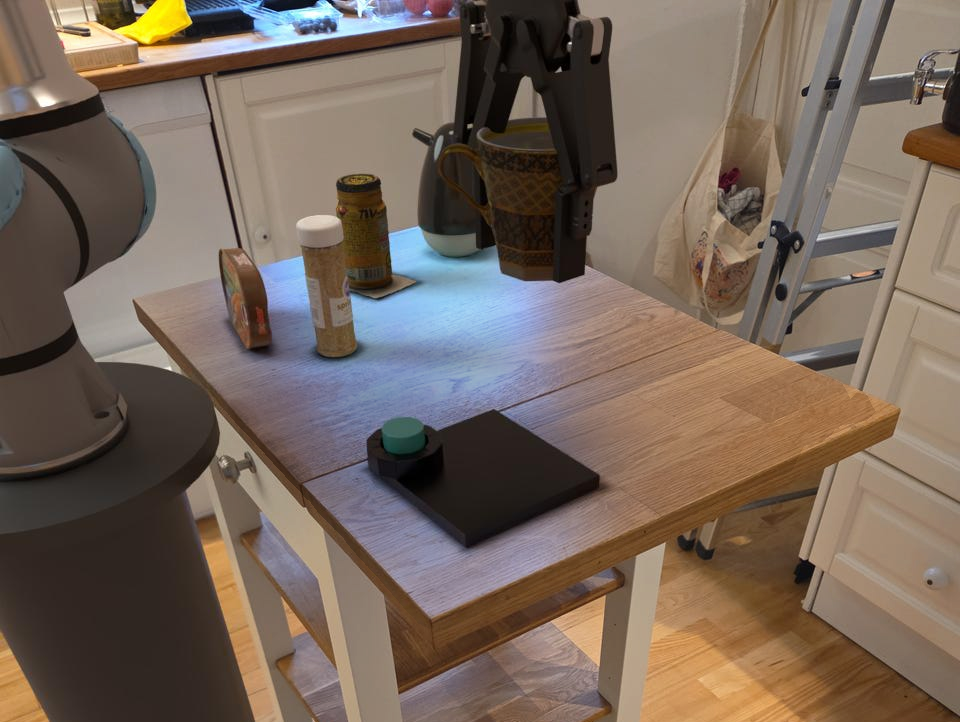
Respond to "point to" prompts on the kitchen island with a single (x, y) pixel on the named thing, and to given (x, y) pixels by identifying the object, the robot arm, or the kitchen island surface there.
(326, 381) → the kitchen island surface
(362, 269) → the condiment
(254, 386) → the kitchen island surface
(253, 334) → the tin
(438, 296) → the kitchen island surface
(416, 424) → the button
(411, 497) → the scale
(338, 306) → the spice jar
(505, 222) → the ceramic cup
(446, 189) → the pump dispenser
